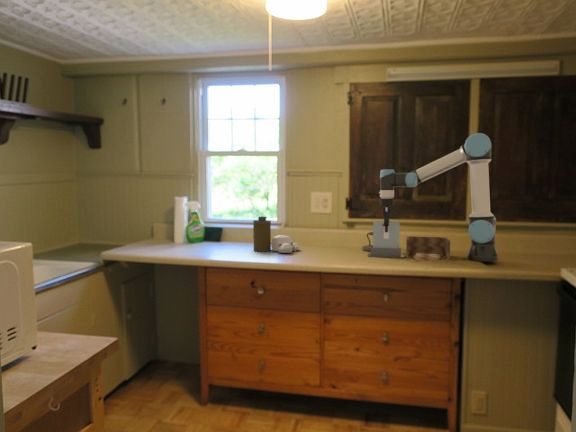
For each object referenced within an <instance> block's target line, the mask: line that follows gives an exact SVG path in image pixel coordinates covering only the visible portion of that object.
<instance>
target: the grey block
mask: <svg viewBox="0 0 576 432" xmlns="http://www.w3.org/2000/svg"><path fill="white" fill-rule="evenodd" d="M367 257H370V258H392V259H393V258H396V259H404V258H405V256H404V254H402V247H399V249H388V248H373V247H371V251H370V252H369V253H368V254H367Z"/></svg>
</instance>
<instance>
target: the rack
mask: <svg viewBox="0 0 576 432" xmlns="http://www.w3.org/2000/svg"><path fill="white" fill-rule="evenodd" d="M405 238H406V239H405V256H406V259H409V255H412V257H413V259H414V255H416V253H424V254H440V259H442V260H443V259H444V257H443V256H445V258H446V259H447V260H448V261H449V260H450V259H451V240H450V239H449V238H448V237H445V236H444V237H443V236H413V235H411V236H410V235H409V236H408V235H406V237H405Z"/></svg>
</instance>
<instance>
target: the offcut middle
mask: <svg viewBox="0 0 576 432" xmlns="http://www.w3.org/2000/svg"><path fill="white" fill-rule="evenodd" d="M414 259H427V260H426V261H433V260H440V258H432V257H416V255H414V258H413V260H414Z"/></svg>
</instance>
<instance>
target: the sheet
mask: <svg viewBox="0 0 576 432" xmlns="http://www.w3.org/2000/svg"><path fill="white" fill-rule="evenodd" d="M400 223H401V222H395V221H393V222H392V221H389V238H384V226H383V224H384V221H373V223H372V224H373V225H372V232H373V235H372V237H373V238H372V245H373V248H388V249H399V248H400V228H401V227H400Z"/></svg>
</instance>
